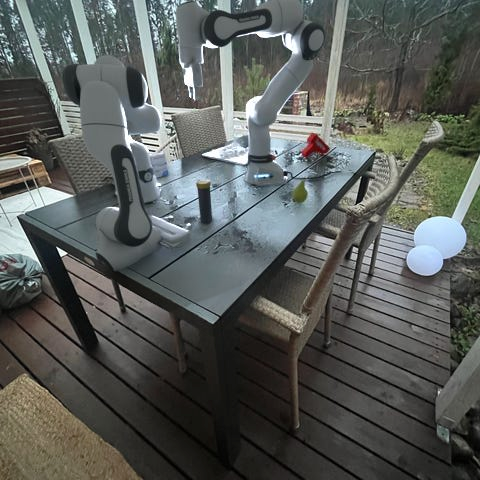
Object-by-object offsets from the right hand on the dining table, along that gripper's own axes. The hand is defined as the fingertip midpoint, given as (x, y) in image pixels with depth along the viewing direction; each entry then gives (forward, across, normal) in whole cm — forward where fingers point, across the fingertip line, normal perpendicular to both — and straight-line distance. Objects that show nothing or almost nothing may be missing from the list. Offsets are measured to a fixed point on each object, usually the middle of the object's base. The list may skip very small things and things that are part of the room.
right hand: (194, 98), depth 110 cm
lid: (+24, -29, +4) cm, 38 cm away
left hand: (+36, -36, +15) cm, 53 cm away
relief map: (+40, +54, -34) cm, 76 cm away
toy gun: (+40, +34, -85) cm, 100 cm away
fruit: (+40, -26, -39) cm, 62 cm away
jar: (+40, -29, +4) cm, 50 cm away
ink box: (+41, +31, +17) cm, 54 cm away
